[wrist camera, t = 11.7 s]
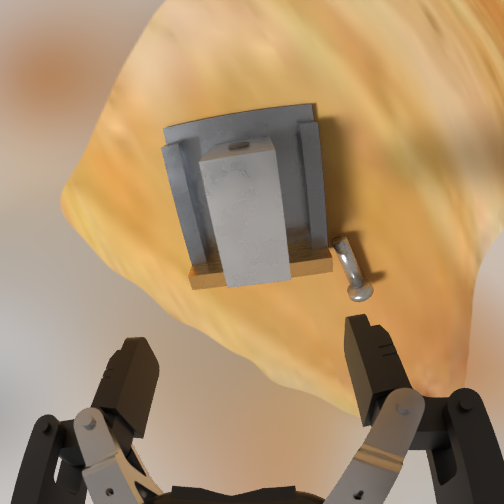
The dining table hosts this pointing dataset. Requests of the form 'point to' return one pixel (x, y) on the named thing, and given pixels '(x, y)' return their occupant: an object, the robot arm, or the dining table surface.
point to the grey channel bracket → (290, 176)
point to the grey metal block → (247, 211)
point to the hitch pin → (352, 271)
